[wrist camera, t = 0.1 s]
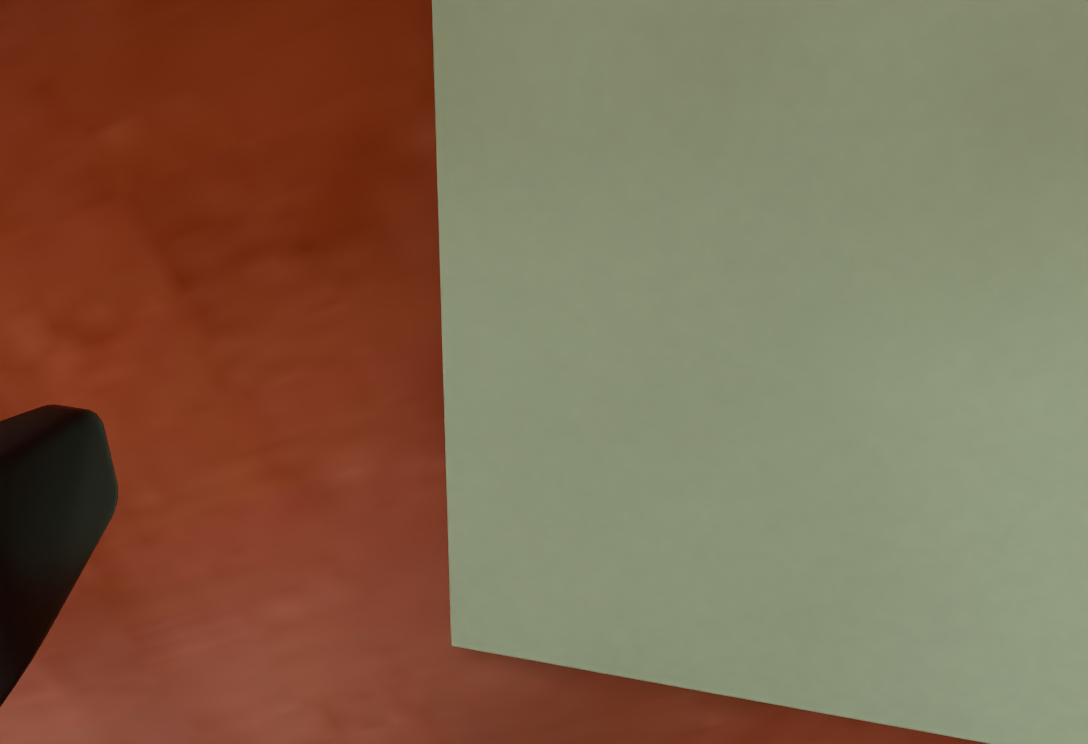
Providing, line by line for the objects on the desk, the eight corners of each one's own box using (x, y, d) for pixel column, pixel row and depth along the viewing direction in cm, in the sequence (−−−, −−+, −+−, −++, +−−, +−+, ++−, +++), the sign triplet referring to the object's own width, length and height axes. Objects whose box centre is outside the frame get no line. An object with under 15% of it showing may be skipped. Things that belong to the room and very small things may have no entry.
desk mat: (1111, 755, 27) (1115, 767, 27) (454, 636, 30) (450, 646, 30) (1482, -61, 17) (1496, -58, 17) (434, -114, 20) (427, -112, 20)
